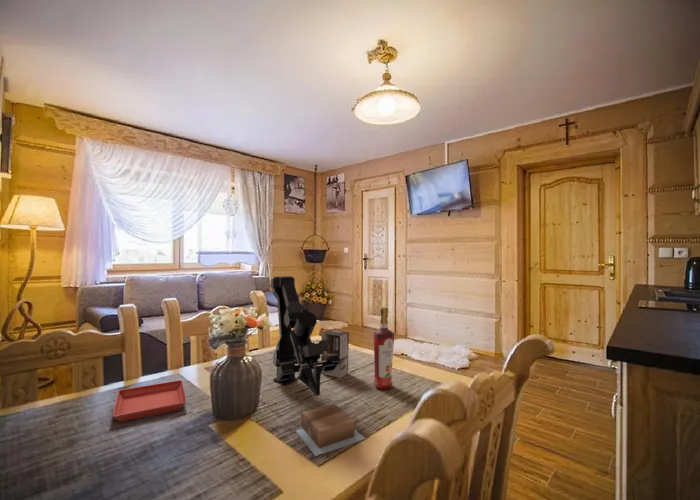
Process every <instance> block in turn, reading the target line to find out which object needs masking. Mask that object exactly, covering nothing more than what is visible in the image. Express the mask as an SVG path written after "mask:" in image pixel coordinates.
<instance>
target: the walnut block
mask: <svg viewBox="0 0 700 500" xmlns="http://www.w3.org/2000/svg"><path fill="white" fill-rule="evenodd" d="M355 424H356V422H355V420H354V419H353V418H352V417H350V416H349V414H347V413H346V412H345V411H343V410H342V409H341V408H340V407H339V406H338V405H336V404H335V403H333V404H332V403H331V404H328V405H324V406H321V407H317V408H313V409H312V408H311V409H309V410H306V411H305V410H304V411H302V412H301V429H304V431H305V432H306V433H307V434H308V435H309V437H310V438H311V439H312V440H313V441H314V442H315V444H316V445H317V446H318V447H319V448H322V447H325V446H328V445H331V444H334V443H337V442H340V441H343V440H346V439H349V438H352V437H355V430H356V429H355V427H356V425H355Z"/></svg>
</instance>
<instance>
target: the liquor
mask: <svg viewBox="0 0 700 500" xmlns="http://www.w3.org/2000/svg"><path fill="white" fill-rule="evenodd" d="M388 313H389V307H387V306H381V307H380V321H379V322H380V323H379V329H377V330H375V331H374V332H373V357H374V360H373V361H374V380H373V383H372V384H373V385H374V386H375V387H376V388H377V389H379V390H388V389H389V388H390V387H392V386H393V383H394V382H393V381H392V379H393V378H392V376H393V359H394V347H395V346H394V345H395V333H394V331H392V330H391V329H389V320H388V317H389V316H388V315H389V314H388Z"/></svg>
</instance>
